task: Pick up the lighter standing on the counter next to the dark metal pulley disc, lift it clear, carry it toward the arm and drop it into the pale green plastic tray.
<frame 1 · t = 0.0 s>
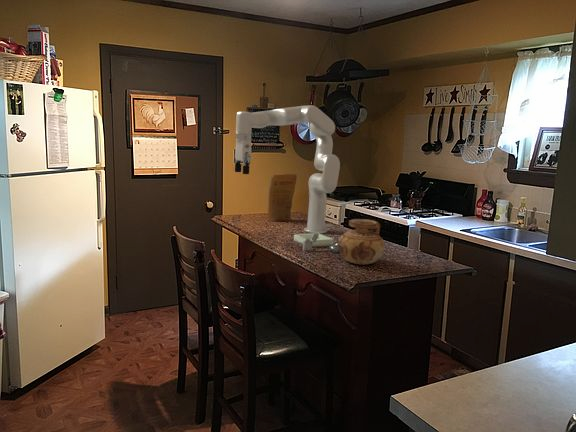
hand: (241, 173, 236), 31 cm above the countertop, tool pointing down, fingers open, 9 cm apart
lighter: (310, 250, 220), on the countertop
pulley: (337, 251, 220), on the countertop
pancake mix bag: (280, 221, 288), on the countertop
clay pot: (359, 262, 204), on the countertop
tray: (313, 242, 235), on the countertop
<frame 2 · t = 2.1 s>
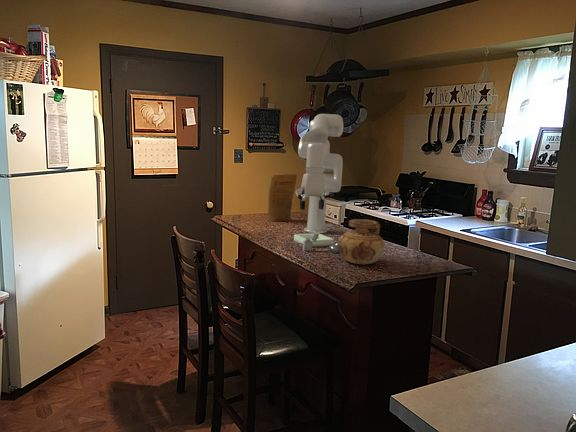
hand: (311, 209, 217), 19 cm above the countertop, tool pointing down, fingers open, 9 cm apart
nothing on the countertop moved.
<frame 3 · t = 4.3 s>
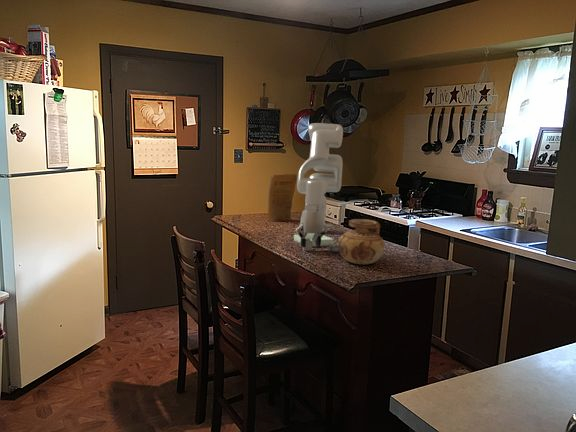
hand: (310, 245, 220), 2 cm above the countertop, tool pointing down, fingers closed on lighter, 7 cm apart
lighter: (310, 250, 220), on the countertop, touching gripper
everything else where it was.
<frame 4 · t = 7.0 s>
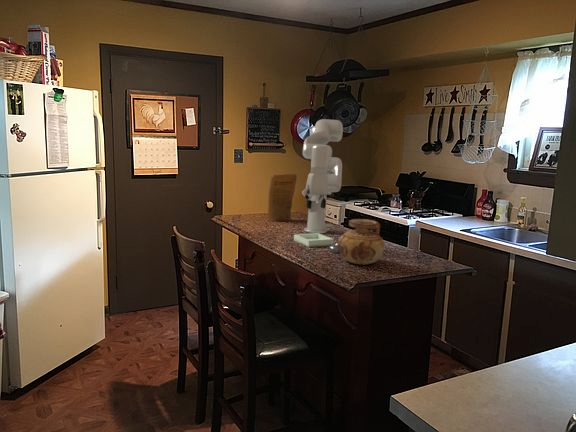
hand: (315, 207, 232), 17 cm above the countertop, tool pointing down, fingers closed on lighter, 7 cm apart
lighter: (315, 212, 232), point 15 cm above the countertop, touching gripper
everything else where it was.
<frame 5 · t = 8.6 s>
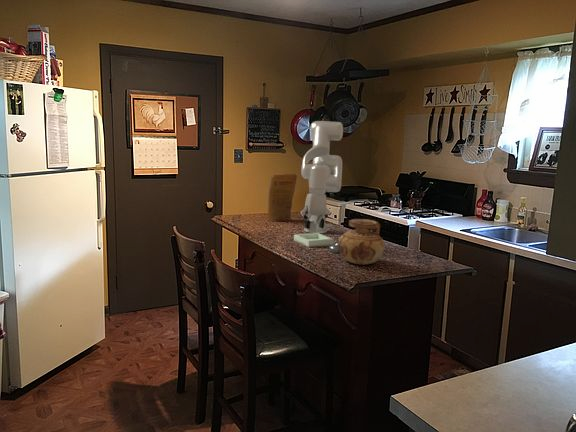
hand: (314, 227, 233), 7 cm above the countertop, tool pointing down, fingers closed on lighter, 7 cm apart
lighter: (314, 232, 234), point 5 cm above the countertop, touching gripper
everything else where it was.
when the fingers open (4 cm above the countertop, at t = 9.9 s): lighter drops 2 cm, resting on tray.
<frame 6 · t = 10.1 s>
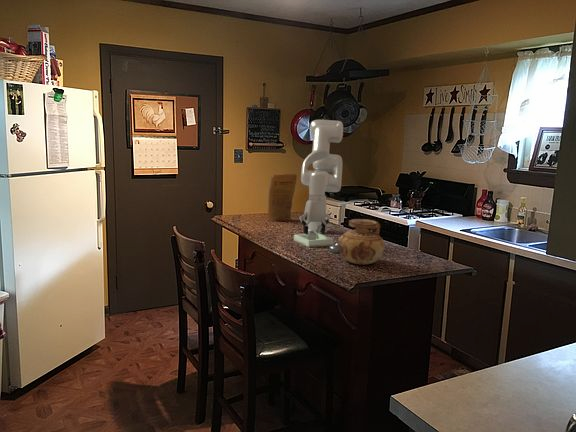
hand: (314, 233, 234), 5 cm above the countertop, tool pointing down, fingers open, 9 cm apart
lighter: (314, 241, 235), point 1 cm above the countertop, touching tray
everything else where it was.
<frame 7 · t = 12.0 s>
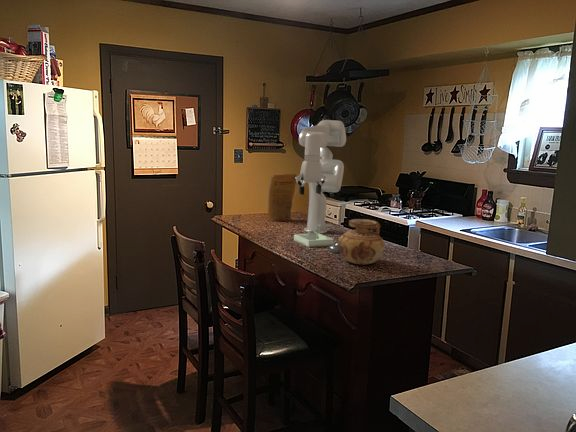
hand: (310, 193, 236), 23 cm above the countertop, tool pointing down, fingers open, 9 cm apart
nothing on the countertop moved.
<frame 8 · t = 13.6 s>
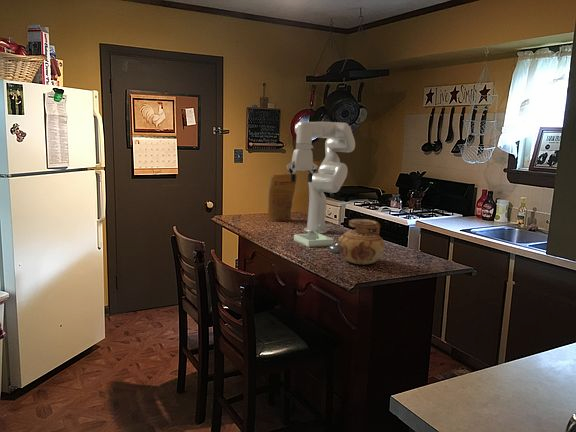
hand: (301, 182, 239), 28 cm above the countertop, tool pointing down, fingers open, 9 cm apart
nothing on the countertop moved.
at the end: lighter inside the target area on the tray (0.4 cm from its centre), point 0.6 cm above the tray's base; the gripper is holding nothing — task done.
